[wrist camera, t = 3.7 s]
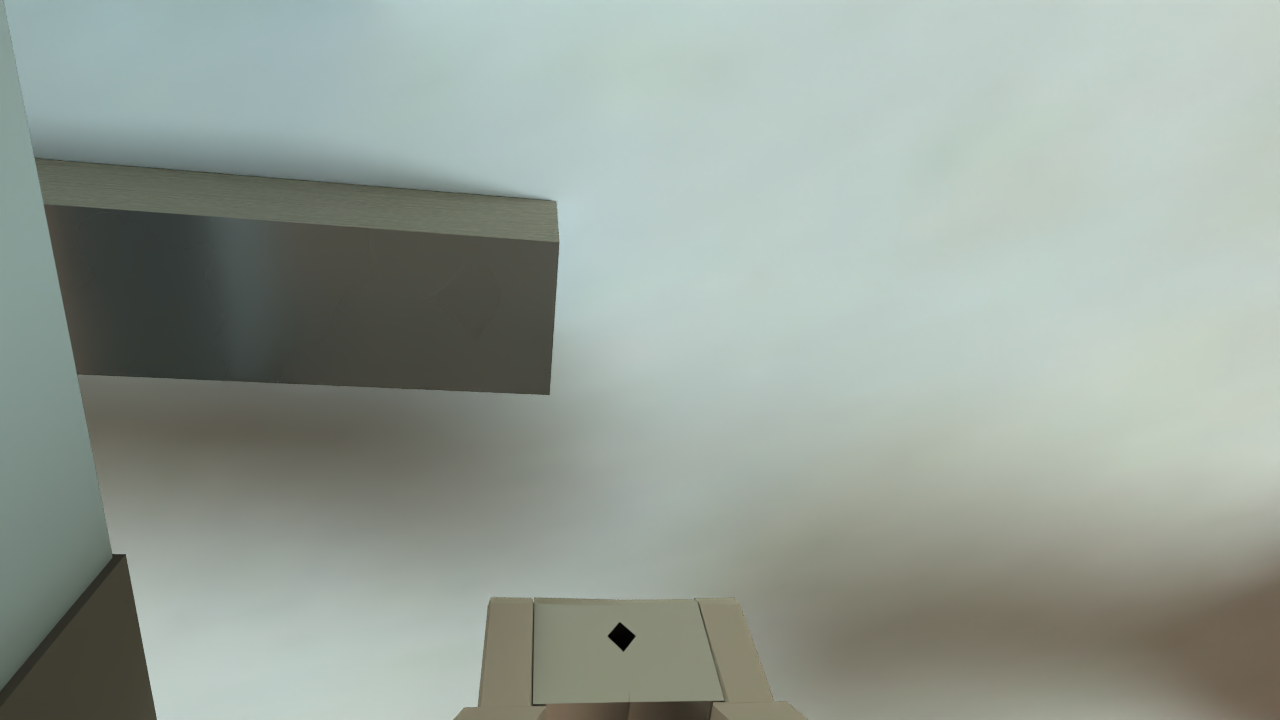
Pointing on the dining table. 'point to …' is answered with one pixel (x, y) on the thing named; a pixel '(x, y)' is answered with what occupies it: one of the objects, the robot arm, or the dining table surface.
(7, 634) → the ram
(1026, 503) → the dining table surface
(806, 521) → the dining table surface
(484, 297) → the frame
